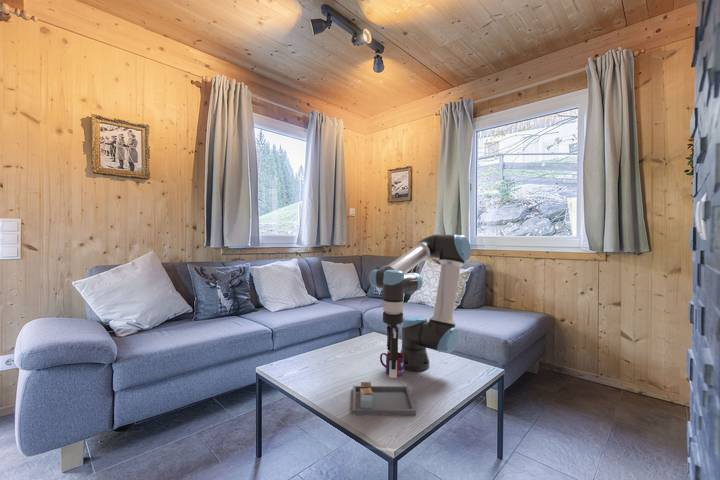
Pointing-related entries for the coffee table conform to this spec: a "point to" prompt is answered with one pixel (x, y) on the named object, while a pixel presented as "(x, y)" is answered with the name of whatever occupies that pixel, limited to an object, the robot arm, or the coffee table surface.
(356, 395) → the tray
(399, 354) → the mug
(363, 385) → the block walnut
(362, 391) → the block beech
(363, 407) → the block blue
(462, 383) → the coffee table surface
